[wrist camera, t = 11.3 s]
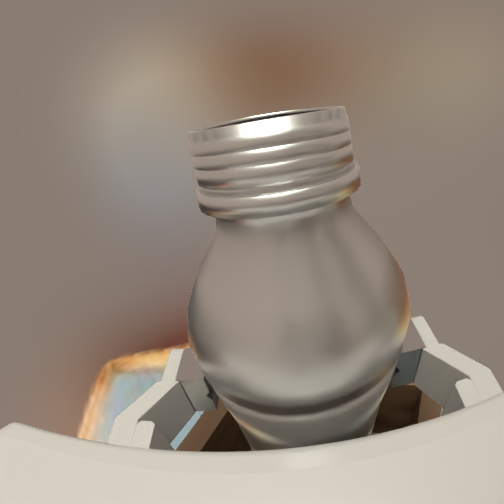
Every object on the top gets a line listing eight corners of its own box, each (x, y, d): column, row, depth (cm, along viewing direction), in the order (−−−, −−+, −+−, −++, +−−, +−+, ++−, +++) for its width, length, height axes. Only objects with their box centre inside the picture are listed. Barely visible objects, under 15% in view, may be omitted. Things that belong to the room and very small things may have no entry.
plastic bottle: (248, 470, 17) (121, 148, 9) (337, 429, 19) (314, 105, 10) (287, 546, 12) (97, 171, 3) (387, 493, 13) (472, 106, 5)
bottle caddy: (447, 424, 17) (476, 364, 14) (401, 599, 7) (440, 602, 4) (245, 389, 25) (227, 329, 22) (153, 521, 15) (100, 486, 11)
